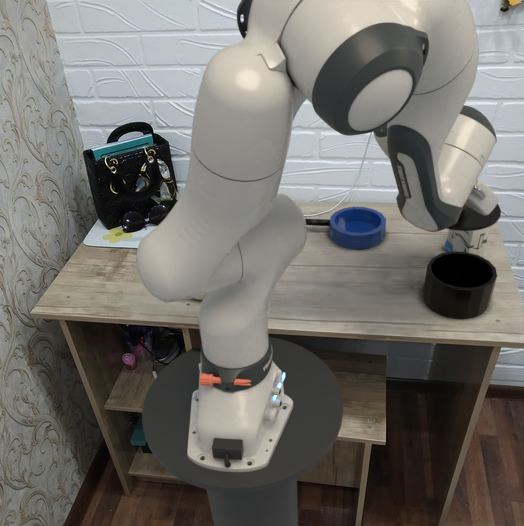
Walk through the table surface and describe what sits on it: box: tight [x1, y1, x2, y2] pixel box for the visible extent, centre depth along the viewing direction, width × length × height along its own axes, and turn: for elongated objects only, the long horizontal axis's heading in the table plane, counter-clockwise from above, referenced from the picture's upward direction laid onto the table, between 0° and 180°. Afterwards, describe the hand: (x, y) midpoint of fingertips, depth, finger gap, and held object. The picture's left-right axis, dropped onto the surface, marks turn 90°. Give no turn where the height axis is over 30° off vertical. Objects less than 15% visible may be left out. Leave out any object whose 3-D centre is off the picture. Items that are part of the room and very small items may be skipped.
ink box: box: [444, 226, 492, 258], centre depth 130 cm, size 9×5×12 cm, turn 18°
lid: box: [445, 203, 502, 231], centre depth 110 cm, size 15×15×6 cm
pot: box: [422, 251, 498, 320], centre depth 120 cm, size 14×14×8 cm
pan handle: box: [305, 218, 330, 227], centre depth 143 cm, size 2×11×2 cm, turn 81°
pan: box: [328, 206, 387, 251], centre depth 141 cm, size 14×14×4 cm
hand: (463, 199), depth 110 cm, fingers closed on lid, 2 cm apart
